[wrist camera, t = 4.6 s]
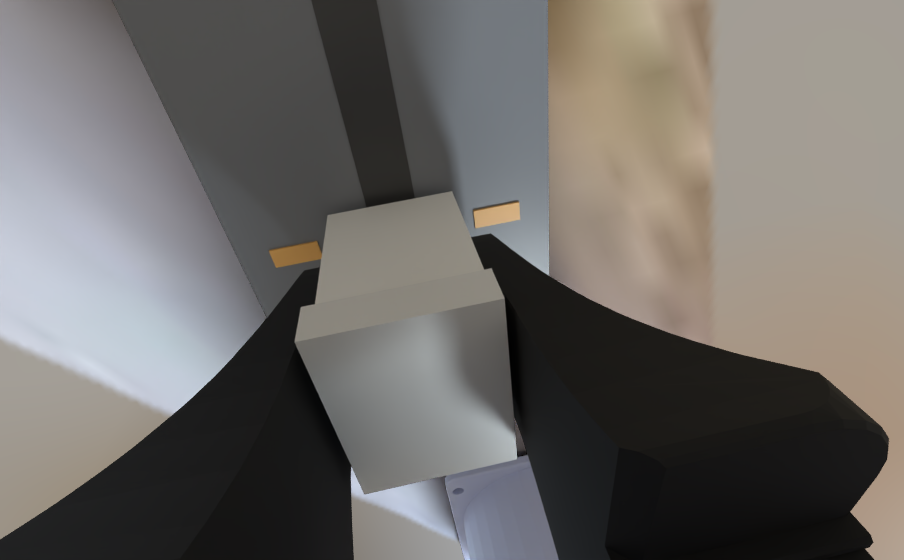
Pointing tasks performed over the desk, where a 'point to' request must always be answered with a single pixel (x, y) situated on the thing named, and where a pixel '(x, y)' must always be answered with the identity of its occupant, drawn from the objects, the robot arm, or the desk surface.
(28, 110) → the desk surface
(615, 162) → the desk surface
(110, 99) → the desk surface
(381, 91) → the console
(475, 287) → the fader tab
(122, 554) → the robot arm
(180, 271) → the desk surface
